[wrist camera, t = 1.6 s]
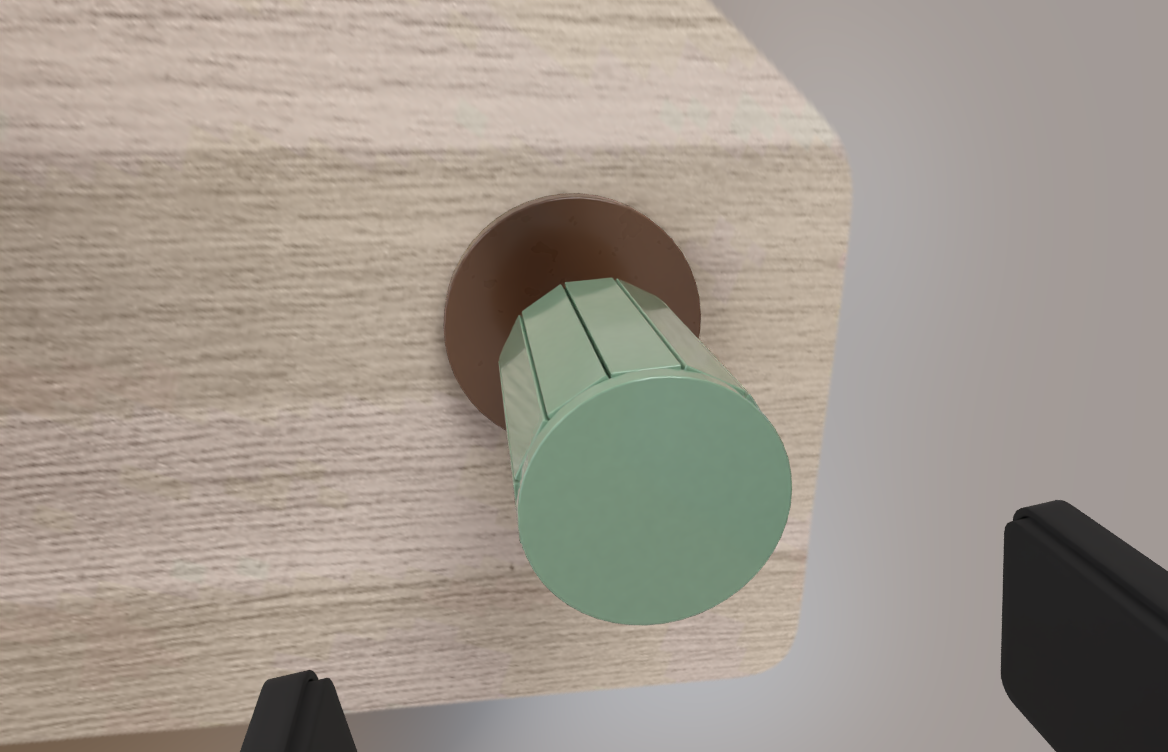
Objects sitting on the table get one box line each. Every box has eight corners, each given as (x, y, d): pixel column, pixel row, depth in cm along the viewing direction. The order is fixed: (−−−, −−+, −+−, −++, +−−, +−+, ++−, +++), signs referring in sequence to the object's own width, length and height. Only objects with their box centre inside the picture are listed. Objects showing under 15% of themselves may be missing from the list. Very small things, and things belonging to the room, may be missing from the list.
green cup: (622, 240, 27) (704, 318, 18) (721, 389, 30) (839, 526, 20) (460, 354, 28) (459, 487, 18) (571, 491, 30) (618, 671, 21)
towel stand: (606, 139, 33) (728, 182, 18) (737, 345, 37) (930, 526, 21) (390, 294, 34) (330, 462, 18) (541, 479, 37) (593, 744, 22)
